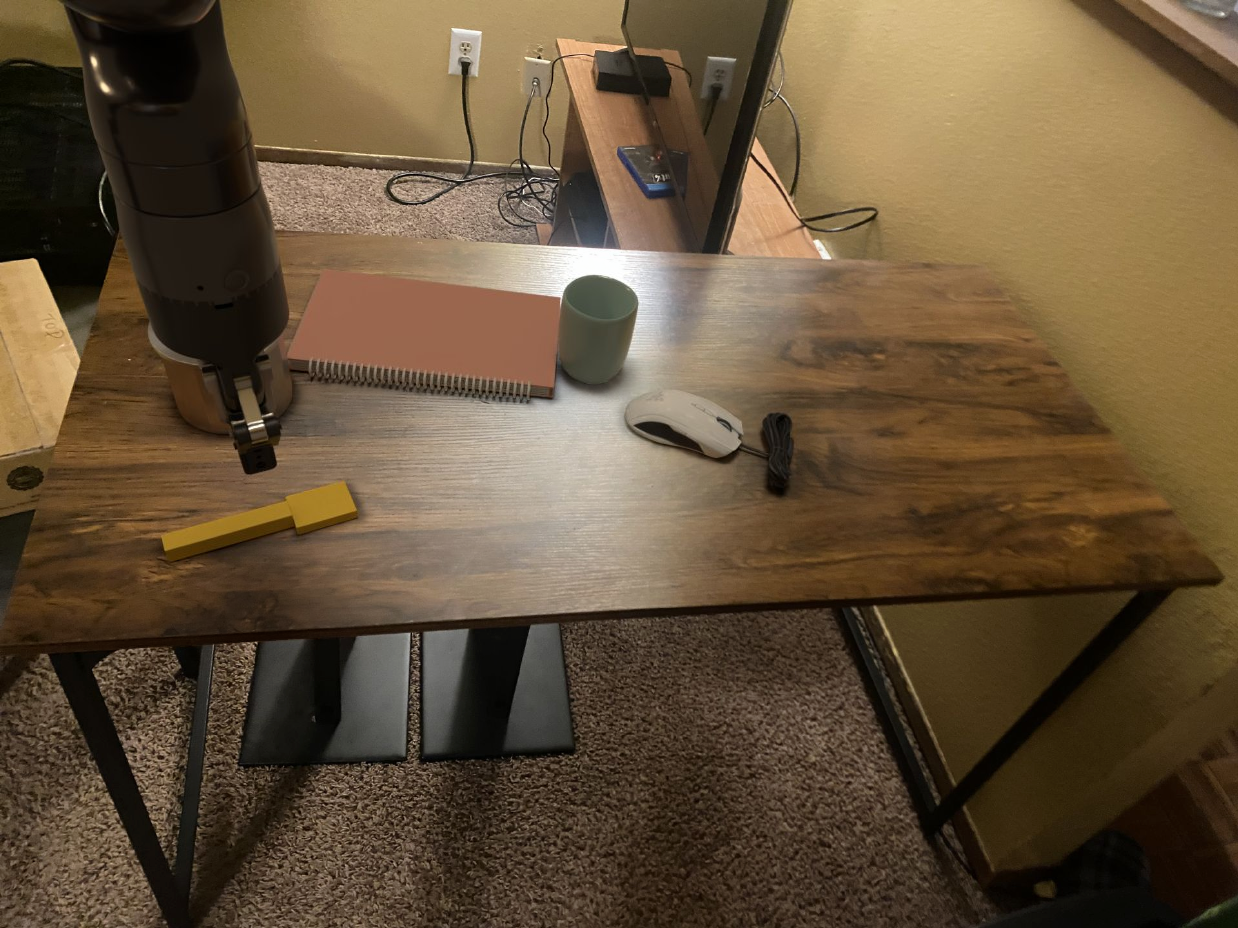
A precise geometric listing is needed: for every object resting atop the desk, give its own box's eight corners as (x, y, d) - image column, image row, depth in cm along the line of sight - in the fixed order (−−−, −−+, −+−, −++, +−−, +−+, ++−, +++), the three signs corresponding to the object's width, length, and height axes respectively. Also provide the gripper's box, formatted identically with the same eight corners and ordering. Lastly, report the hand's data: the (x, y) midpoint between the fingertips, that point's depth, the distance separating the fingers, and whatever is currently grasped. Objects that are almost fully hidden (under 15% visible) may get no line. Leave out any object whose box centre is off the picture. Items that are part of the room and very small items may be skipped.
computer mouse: (635, 386, 92) (641, 358, 89) (795, 433, 91) (807, 406, 88) (611, 446, 85) (617, 418, 82) (784, 498, 84) (796, 471, 81)
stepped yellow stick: (171, 572, 68) (166, 560, 67) (163, 537, 70) (158, 525, 69) (358, 517, 74) (356, 506, 73) (345, 487, 76) (343, 475, 75)
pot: (189, 446, 77) (166, 377, 71) (168, 374, 83) (146, 305, 76) (304, 418, 81) (293, 351, 75) (277, 353, 87) (264, 285, 81)
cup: (637, 369, 94) (652, 296, 87) (599, 404, 89) (612, 331, 82) (580, 338, 96) (591, 265, 89) (540, 372, 91) (548, 297, 84)
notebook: (284, 377, 85) (282, 362, 83) (324, 281, 96) (322, 266, 95) (551, 406, 88) (553, 392, 86) (559, 309, 99) (560, 295, 98)
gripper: (113, 203, 48) (183, 416, 61) (153, 342, 41) (223, 551, 54) (249, 186, 52) (289, 392, 64) (308, 313, 44) (340, 517, 57)
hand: (259, 465), depth 59 cm, fingers closed
